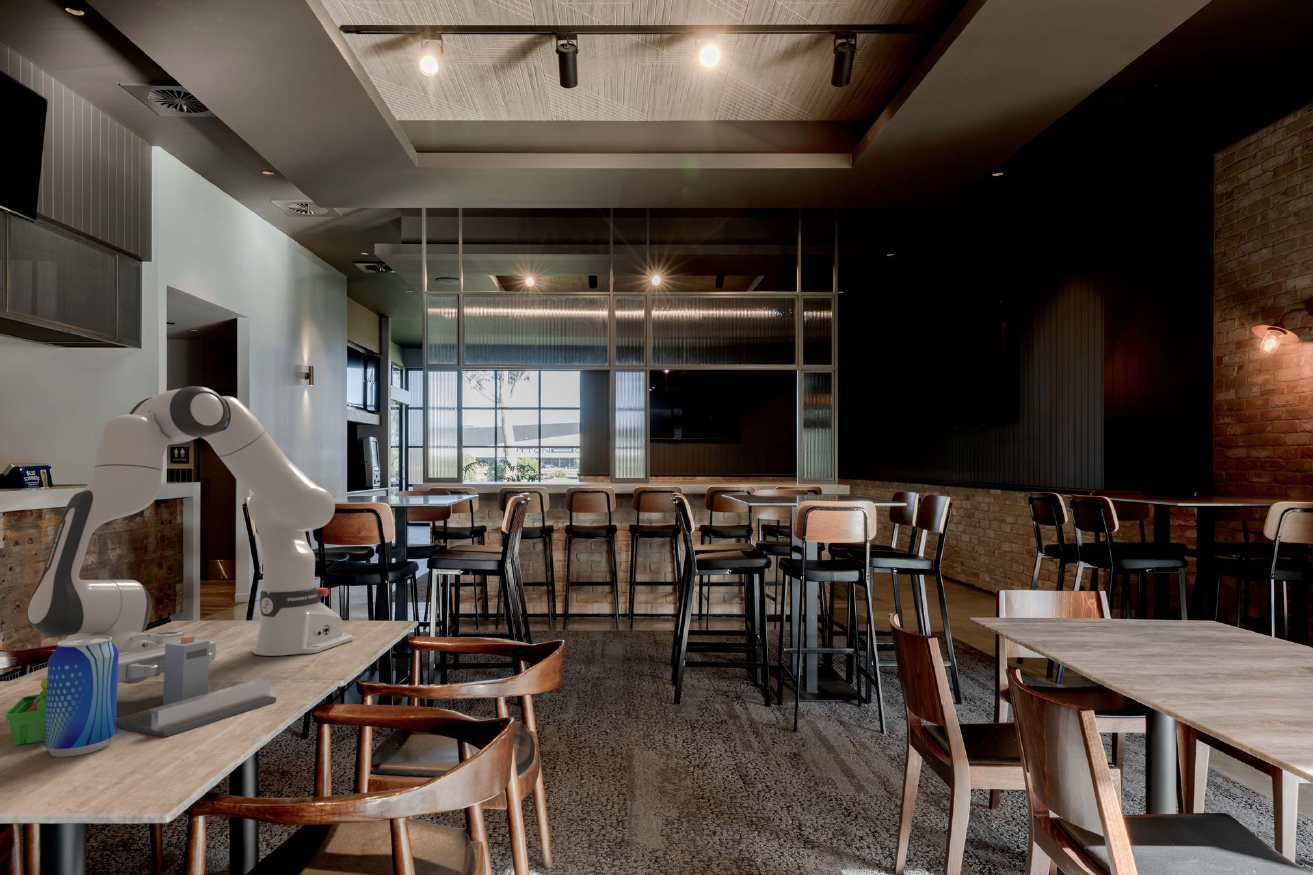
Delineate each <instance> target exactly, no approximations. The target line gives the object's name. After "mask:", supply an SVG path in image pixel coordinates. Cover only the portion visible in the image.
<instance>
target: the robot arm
mask: <svg viewBox="0 0 1313 875" xmlns="http://www.w3.org/2000/svg"><path fill="white" fill-rule="evenodd" d="M199 438H201V439H204V440H205V441H206V442H207V443H208V444H209V445H210V447H211V448H212V450H213V451H214V452H215V453H216V455H217V456H218V458H219V459H220V460H221V462H222V463H223V464H224V465H225V466H226V467H227V468H228V470H229V471H230V472H231V475H233V477H234V478H235V479H236V480H237V482H238V483H239V484H240V485H242V486H244V487H245V488H247V489H248V490H250V491H251V492H252V493H253V494H252V495H251V496H250V498H249V500H248V505H247V511H248V515H249V516H250V518H251V520H252V521H253V523H254V524H255V527H256V531H257V534H258V539H259V543H260V548H261V553H262V590H261V591H260V596H259V597H260V598H259V608H260V613H261V614H260V620H259V626H258V631H257V632H258V633H257V636H256V641H255V644H254V647H253V650H252V654H255V655H259V656H269V657H270V656H272V657H273V656H287V655H289V656H290V655H291V656H292V655H300V654H301V655H304V654H316V653H319V652H323V651H325V650H328V649H331V648H333V647H336V646H340V645H342V643H343V644H345V643H348V642H350V641H353V640H354V637H353V635H352V634H349V633H344V630H343V629H344V627H343V621H342V618H341V615H339V614H338V613H337V612H335V611H334V610H332V609H331V608H330V607H328V606H327V605H325V604H324V603H323V602H321V597H327V596H328V595H329V594H330V593H329V592H330V589H329V588H328V587H319V588H317V587H315V577H316V574H315V573H316V556H315V553H314V551H313V549H312V548H311V546H310V544H309V542H308V539H307V535H306V532H309V531H314V530H317V529H320V528H323V527H324V526H326V525H328V524H329V523H330V522H331V520H332V518H333V517H334V515H335V510H336V504H335V500H334V497H333V496H332V494H331V493H330V492H329V491H328V490H326V489H324V488H322V487H321V486H319V485H317V483H315V482H314V481H313V480H311V479H310V478H309V477H308V476H307V475H306V474H305V473H304V472H303V471H302V470H300V469H299V467H297V466H296V465H295V464H294V463H293V462H292V461H291V460H290V459H289V458H288V457H287V456H286V455H285V454H284V453H283V452H282V450H281V449H280V448H279V446H278V445H277V443H276V442H275V441H274V439H273V438H272V437H271V435H270V434H269V433H268V431H267V430H266V428H265V427H264V425H263V424H262V423H261V422H260V421H259V420H258V419H257V417H256V416H255V414H253V413H252V412H251V410H249V408H248V407H246V406H245V405H244V404H243V402H241V400H239V399H238V398H235V397H233V396H229V395H226V396H225V395H224V396H221V395H220V394H218V392H216V391H214V390H213V389H210V388H208V387H205V386H194V385H193V386H186V387H182V388H176V389H172V390H167V391H162V392H161V393H159V394H157V395H154V396H151V397H147V398H145V399H143V400H141V401H140V402H138V403H136V405H135V406H134V407H132V409H131V411H130V412H129V414H122V415H117V416H114V417H112V418H111V419H109V420H108V421H107V422H106V424H105V425H104V428H103V430H102V432H101V436H100V438H99V442H98V445H97V449H96V452H95V457H94V463H93V464H94V465H93V470H92V471H93V472H92V475H91V478H90V480H89V482H88V483H87V485H86V486H85V487H84V489H83V490H82V491H79V492H77V493H75V494H74V495H72V497H71V498H70V499H69V501H68V503H67V504H66V505H65V506H66V507H65V508H64V511H63V513H62V516H61V519H60V522H59V524H58V527H57V530H56V533H55V536H54V539H53V542H52V544H51V548H50V551H49V554H48V557H47V559H46V562H45V565H44V569H43V571H42V574H41V577H40V579H39V581H38V583H37V586H36V587H35V588H34V590H33V592H32V594H31V596H30V599H29V602H28V605H27V609H26V619H27V621H28V623H29V624H30V626H31V627H32V628H33V629H34V630H35V631H37V632H38V633H39V634H41V635H42V636H43V637H45V638H49V639H52V638H60V637H61V638H62V637H66V638H65V639H64V640H67V639H72V638H78V637H87V636H110V637H112V640H111V642H112V643H113V644H114V646H115V647H116V648H117V650H118V652H119V656H118V681H117V684H128V685H130V684H133V685H134V684H138V683H141V682H144V681H146V680H147V679H149V678H154V677H158V676H160V675H161V674H163V673H164V665H165V644H166V643H170V642H175V641H180V640H181V637H183V636H185V634H184V632H183V631H167V632H158V633H154V632H153V633H152V632H145V630H146V628H147V626H148V623H149V622H150V620H151V619H150V618H151V614H152V610H153V609H152V607H153V603H152V597H151V595H150V593H149V591H148V590H147V588H146V587H145V585H143V584H142V582H140V581H138V580H136V579H81V577H80V573H81V572H80V571H81V568H82V565H83V562H84V560H85V556H86V553H87V549H88V547H89V544H90V540H91V537H92V535H93V533H94V532H95V531H96V530H97V529H98V528H99V527H101V526H102V525H103V524H106V523H107V522H111V521H114V520H116V519H121V518H125V517H128V516H131V515H134V514H137V513H139V512H141V511H144V510H145V509H147V508H148V507H149V506H150V505H152V504H153V503H154V502H155V500H156V499H157V498H158V495H159V493H160V490H161V486H162V480H163V479H162V478H163V470H164V469H163V465H164V455H165V452H166V450H167V448H168V446H170V445H177V444H179V445H180V444H183V443H187V442H191V441H193V440H196V439H199ZM193 636H194V639H199V640H207V641H209V664H211V663H213V661H215V659H216V657H217V656H216V655H217V642H216V641H215V640H214V639H210V638H208V637H207V638H206V637H203V636H202V637H200V636H197V635H196V636H195V635H193Z"/></svg>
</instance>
